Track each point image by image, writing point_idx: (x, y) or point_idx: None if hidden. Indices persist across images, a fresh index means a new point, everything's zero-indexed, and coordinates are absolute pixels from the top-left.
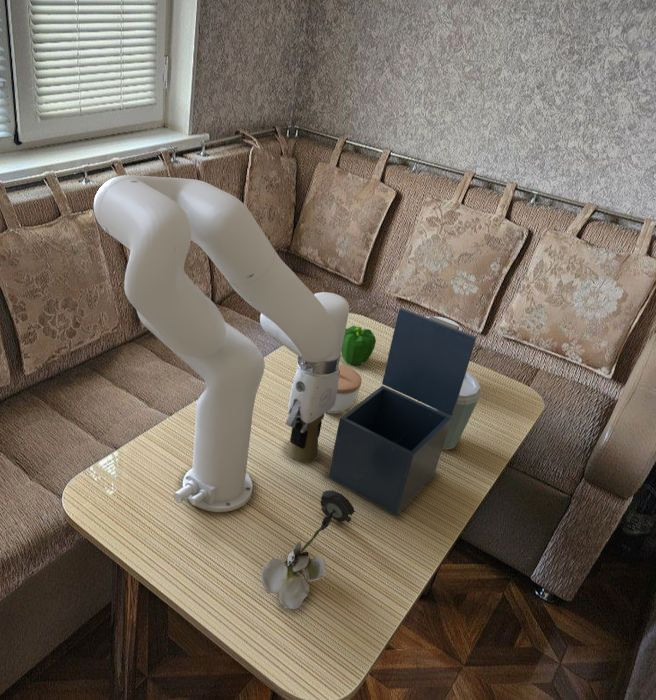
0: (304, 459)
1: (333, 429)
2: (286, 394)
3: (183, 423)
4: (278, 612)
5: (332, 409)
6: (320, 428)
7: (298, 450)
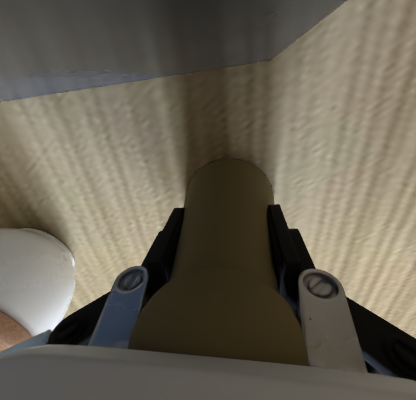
0: (262, 176)
1: (87, 204)
2: None
3: None
4: None
5: (47, 249)
6: (163, 231)
7: None
